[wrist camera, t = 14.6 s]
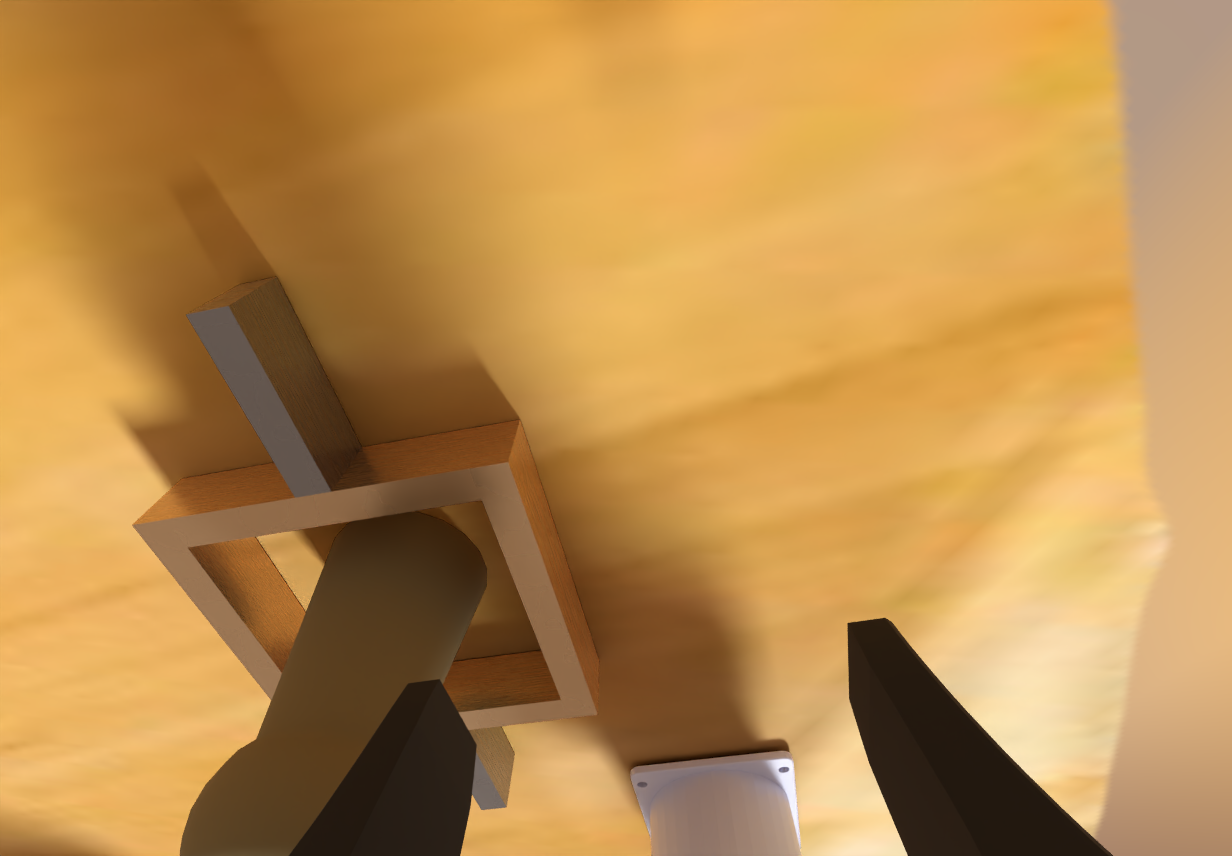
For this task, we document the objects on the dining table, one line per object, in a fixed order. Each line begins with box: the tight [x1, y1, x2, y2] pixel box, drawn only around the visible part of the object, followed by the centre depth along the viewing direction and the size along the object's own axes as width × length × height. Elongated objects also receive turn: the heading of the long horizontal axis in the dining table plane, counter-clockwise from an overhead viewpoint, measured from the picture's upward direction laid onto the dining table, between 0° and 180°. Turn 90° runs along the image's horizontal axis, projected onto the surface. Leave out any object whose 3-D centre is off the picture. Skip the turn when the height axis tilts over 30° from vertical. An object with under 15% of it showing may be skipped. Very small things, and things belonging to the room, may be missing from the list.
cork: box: [180, 512, 487, 856], centre depth 19 cm, size 6×6×11 cm
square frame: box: [132, 277, 600, 810], centre depth 22 cm, size 24×12×2 cm, turn 11°
